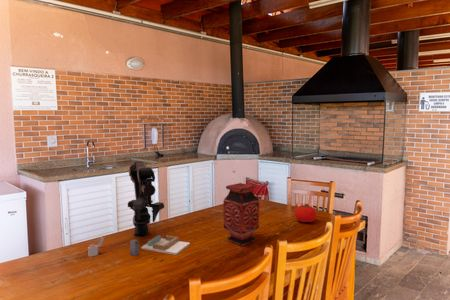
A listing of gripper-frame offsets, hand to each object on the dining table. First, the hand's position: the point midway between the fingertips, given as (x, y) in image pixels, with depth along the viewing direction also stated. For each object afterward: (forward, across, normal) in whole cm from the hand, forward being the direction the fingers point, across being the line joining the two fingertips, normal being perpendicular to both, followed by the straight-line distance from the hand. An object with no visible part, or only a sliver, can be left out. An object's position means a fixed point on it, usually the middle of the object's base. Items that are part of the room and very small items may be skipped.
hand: (146, 221), depth 177 cm
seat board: (+12, +12, -1) cm, 17 cm away
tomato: (+12, +74, +65) cm, 100 cm away
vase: (+12, +46, +20) cm, 51 cm away
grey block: (+12, +2, -14) cm, 19 cm away
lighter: (+12, -15, -21) cm, 28 cm away
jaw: (+11, +5, -1) cm, 12 cm away
